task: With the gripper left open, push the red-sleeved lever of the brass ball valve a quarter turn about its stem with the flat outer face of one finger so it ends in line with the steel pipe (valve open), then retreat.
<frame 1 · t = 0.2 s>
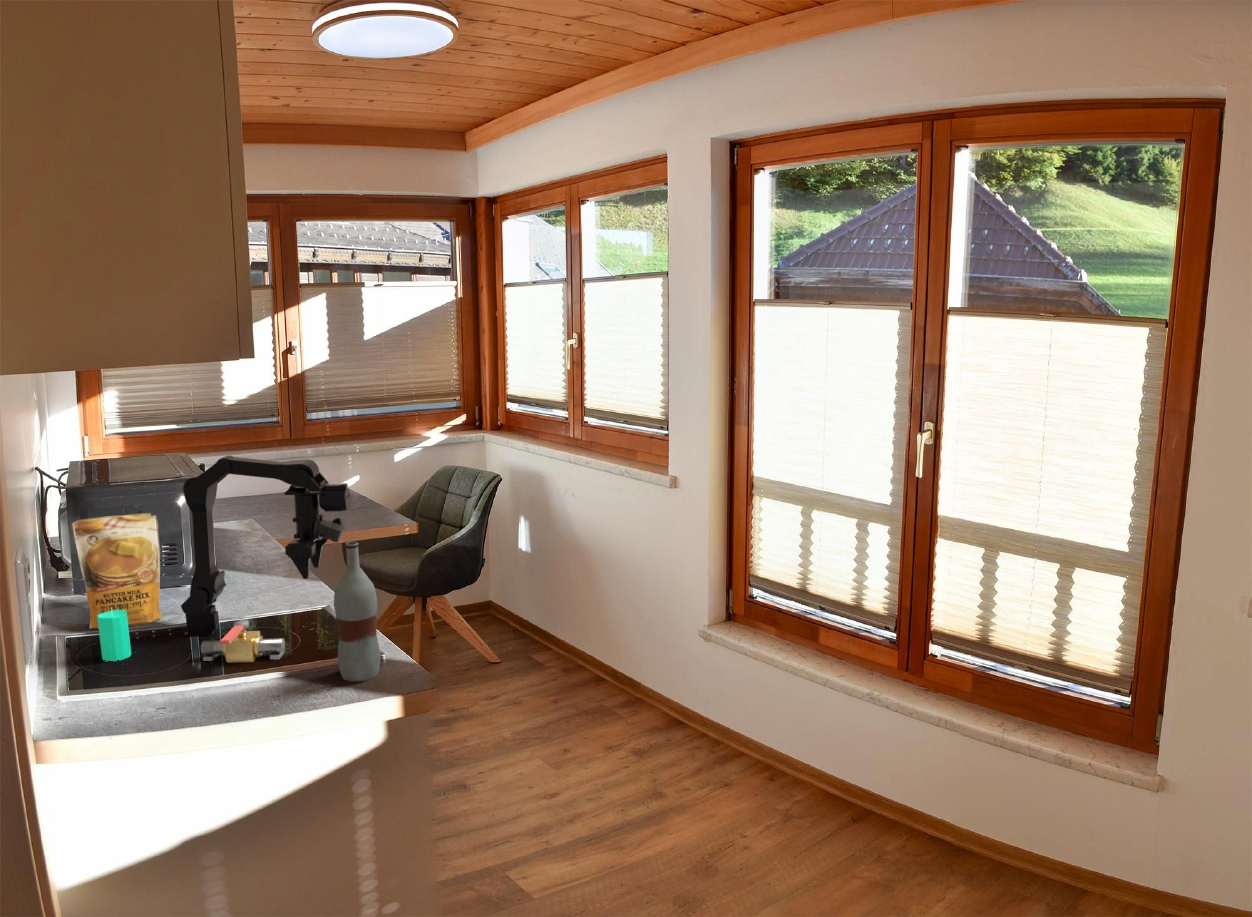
hand: (311, 572, 235), 14 cm above the counter, fingers open, 9 cm apart
vodka: (360, 674, 210), on the counter
pancake mix bag: (126, 623, 243), on the counter
lever: (234, 632, 214), point 8 cm above the counter, hinge at 0.0°
valve: (244, 657, 220), on the counter
candle: (117, 657, 221), on the counter
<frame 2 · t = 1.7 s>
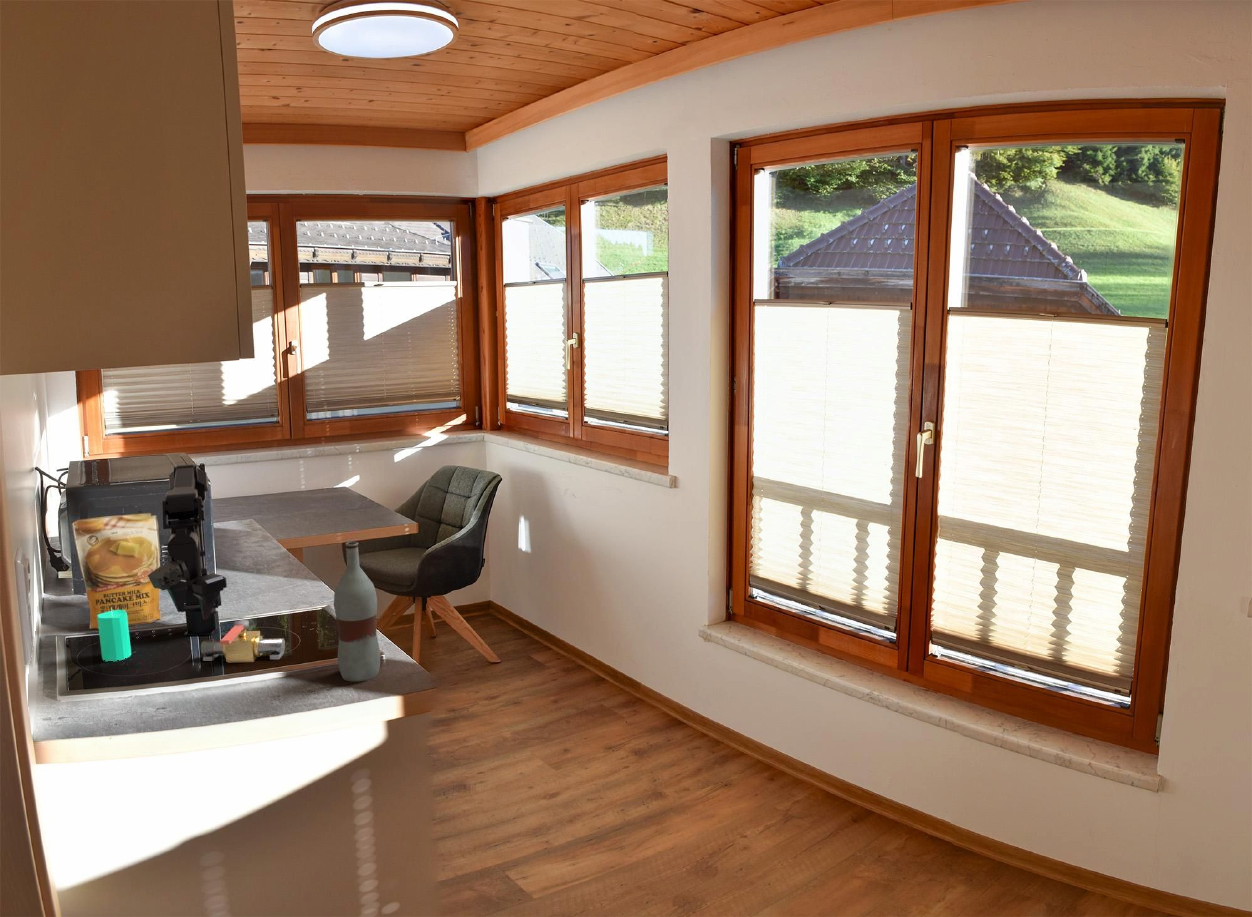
hand: (193, 615, 214), 12 cm above the counter, fingers open, 9 cm apart
nothing on the counter moved.
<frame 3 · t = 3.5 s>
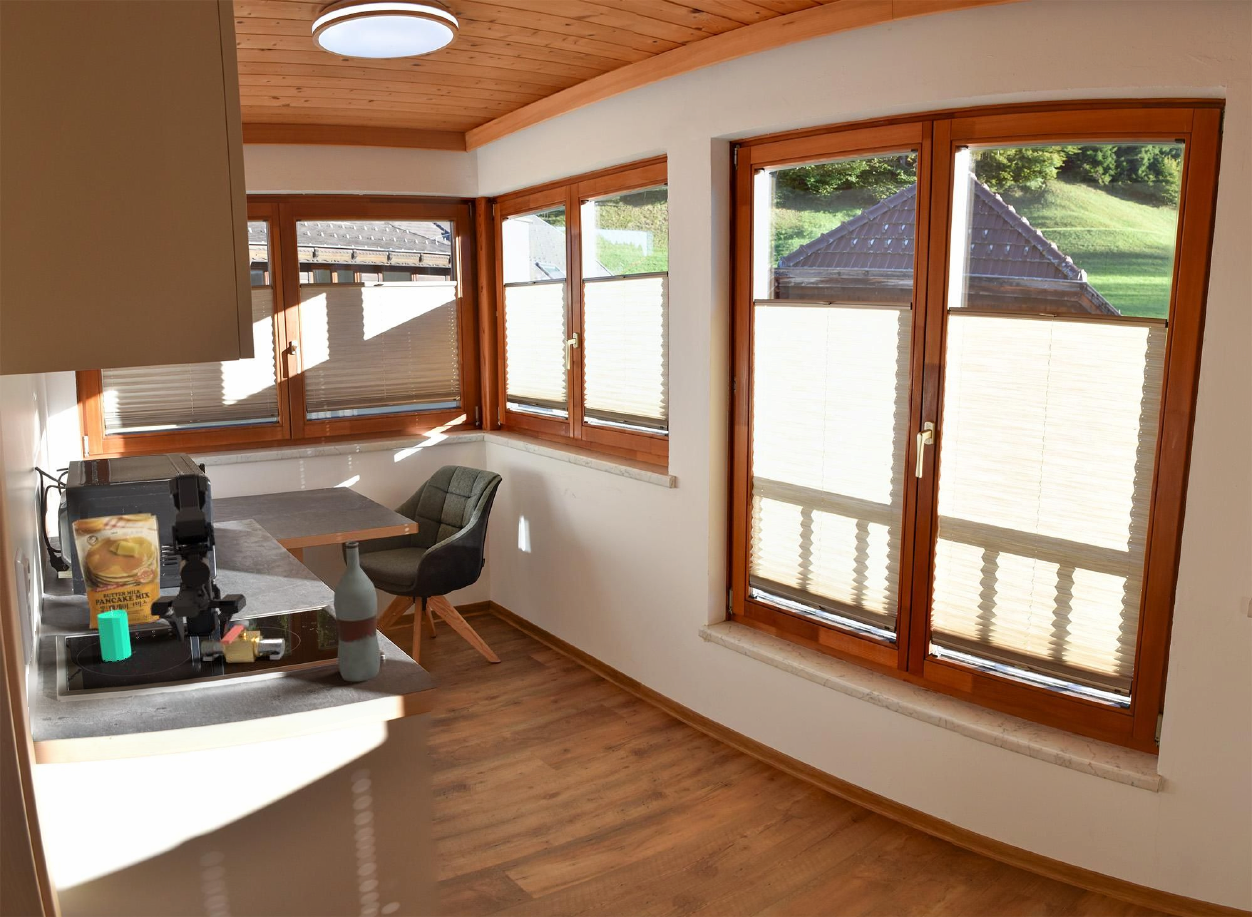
hand: (202, 641, 210), 7 cm above the counter, fingers open, 8 cm apart
lever: (234, 632, 214), point 8 cm above the counter, hinge at 0.3°, touching gripper
everything else where it was.
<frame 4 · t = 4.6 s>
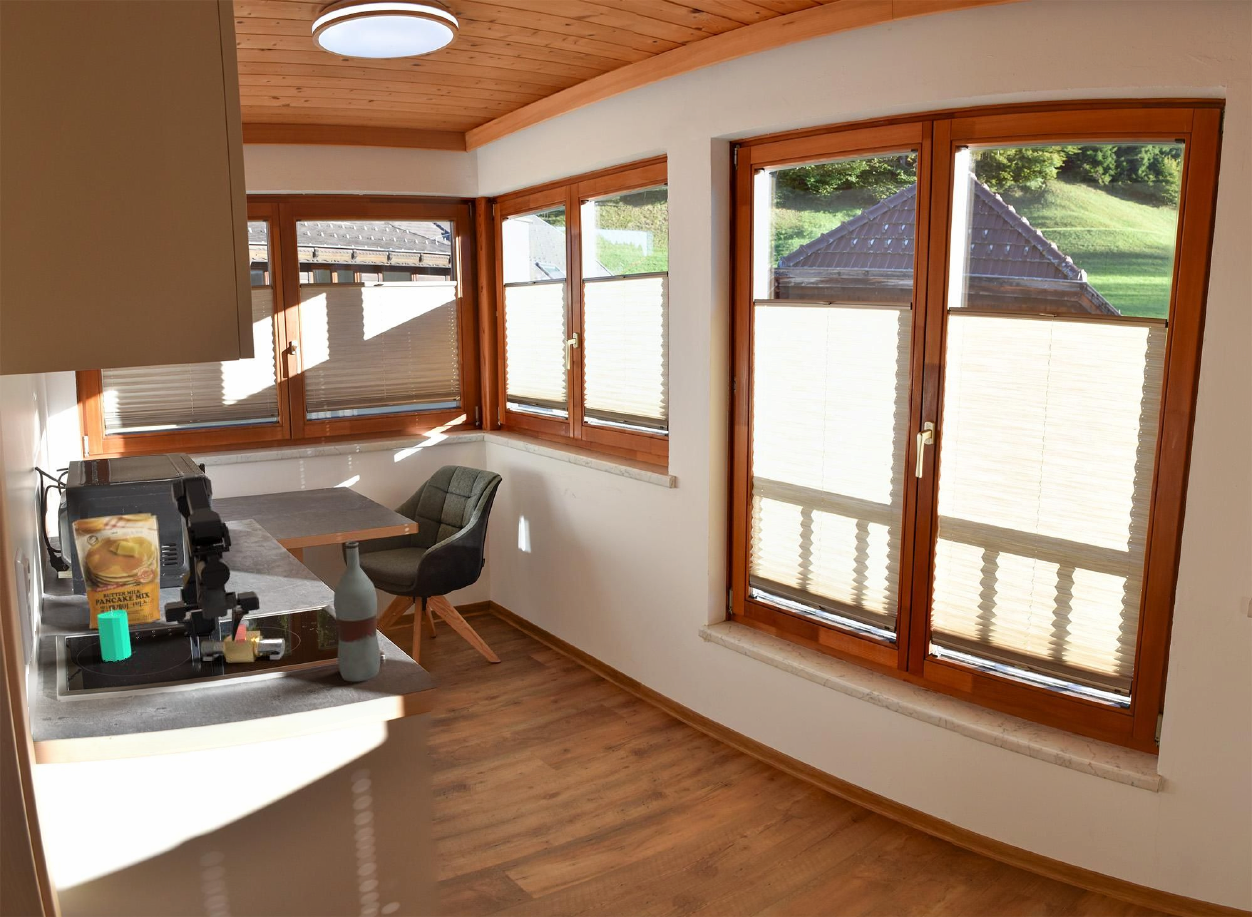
hand: (215, 643, 209), 7 cm above the counter, fingers open, 7 cm apart
lever: (241, 631, 214), point 8 cm above the counter, hinge at 17.5°, touching gripper
everything else where it was.
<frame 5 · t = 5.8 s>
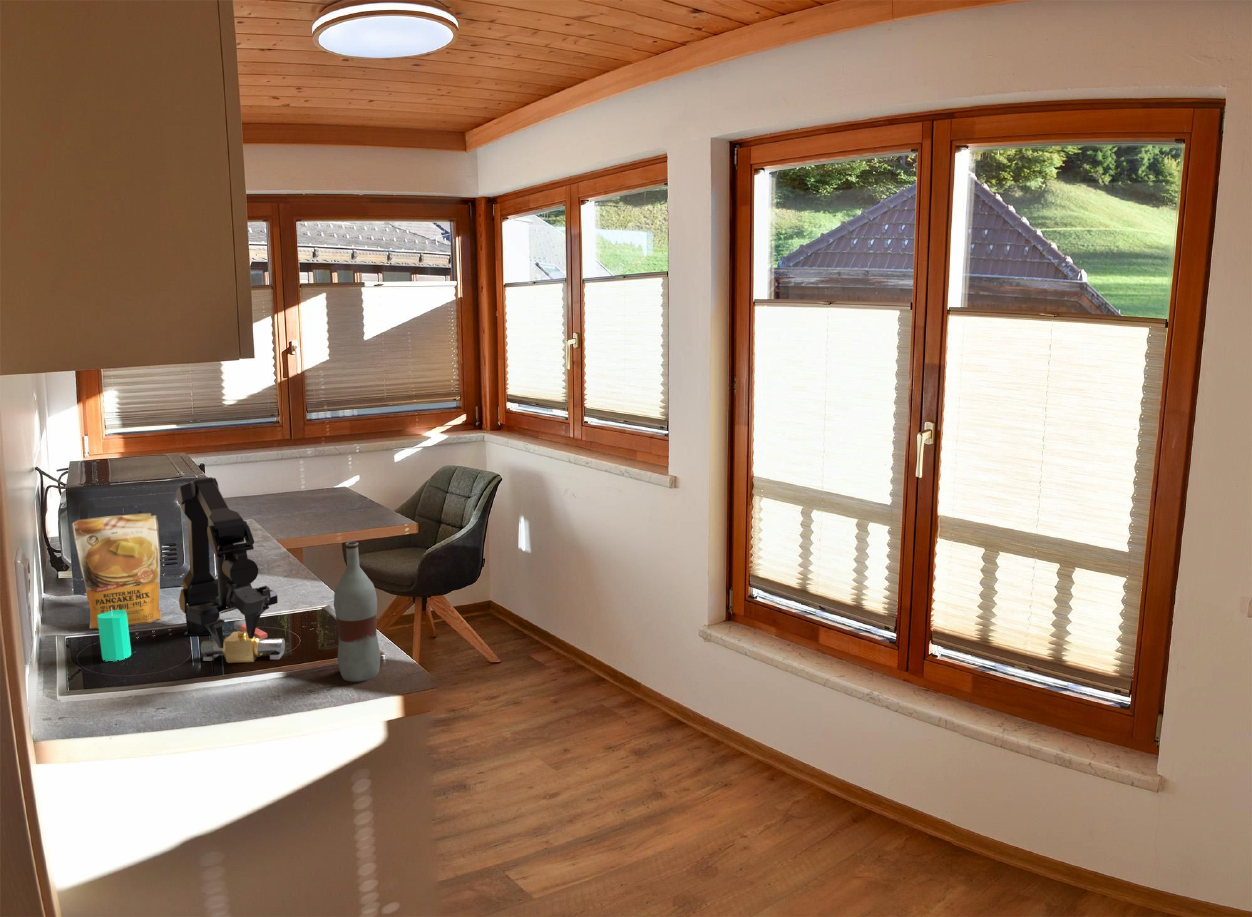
hand: (236, 643, 209), 7 cm above the counter, fingers open, 7 cm apart
lever: (250, 629, 215), point 8 cm above the counter, hinge at 43.3°, touching gripper
everything else where it was.
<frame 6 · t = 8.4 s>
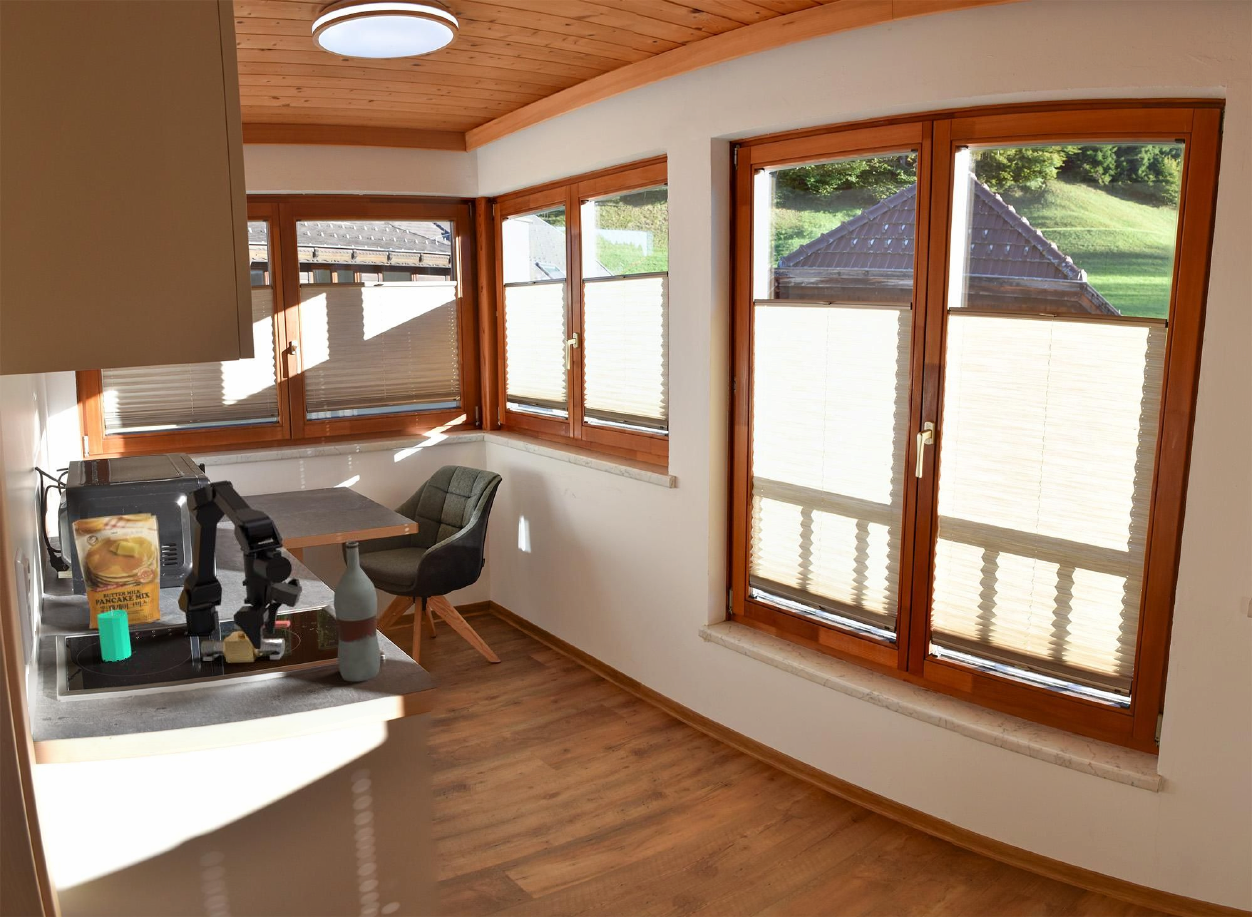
hand: (264, 641, 210), 7 cm above the counter, fingers open, 9 cm apart
lever: (261, 624, 218), point 8 cm above the counter, hinge at 88.1°
everything else where it was.
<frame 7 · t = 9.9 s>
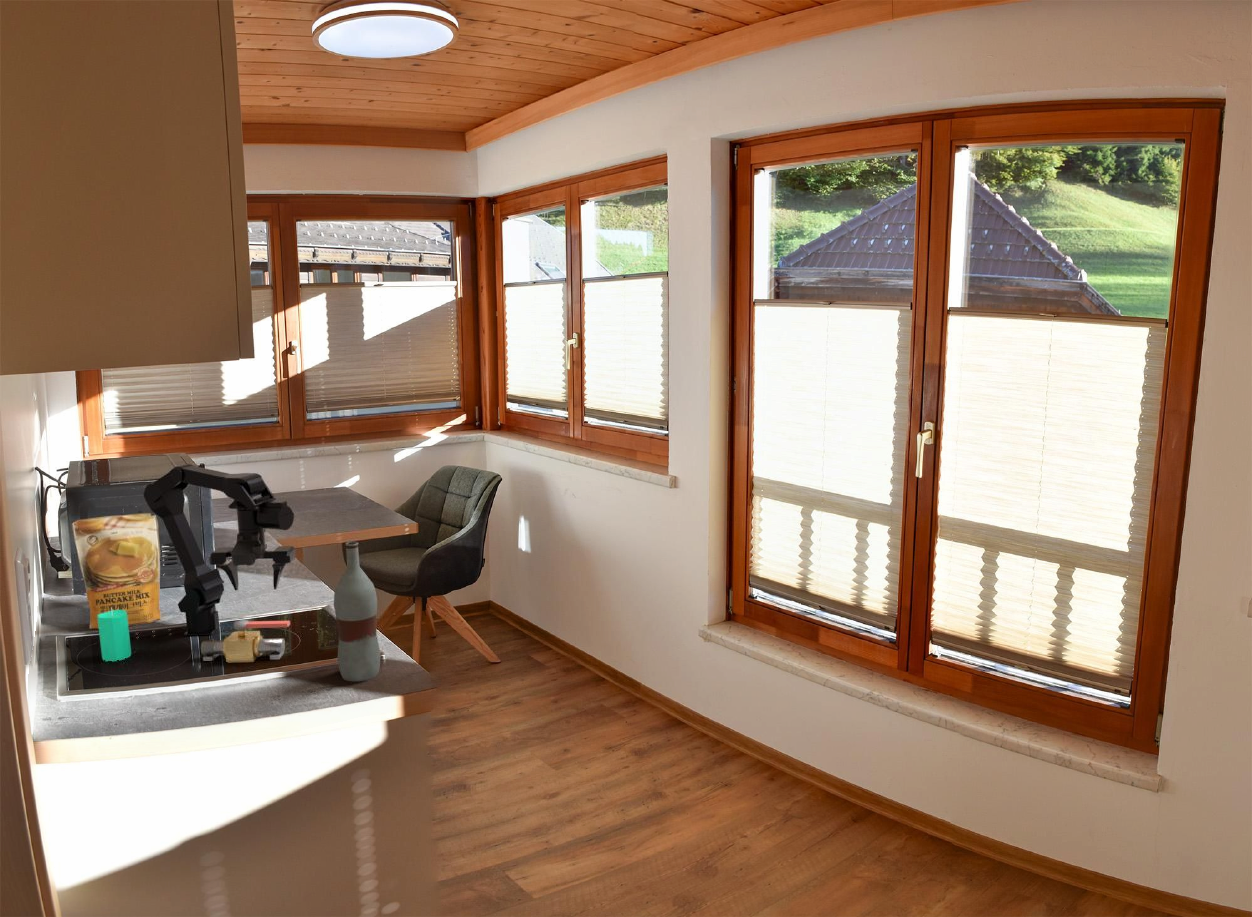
hand: (256, 589, 229), 12 cm above the counter, fingers open, 9 cm apart
nothing on the counter moved.
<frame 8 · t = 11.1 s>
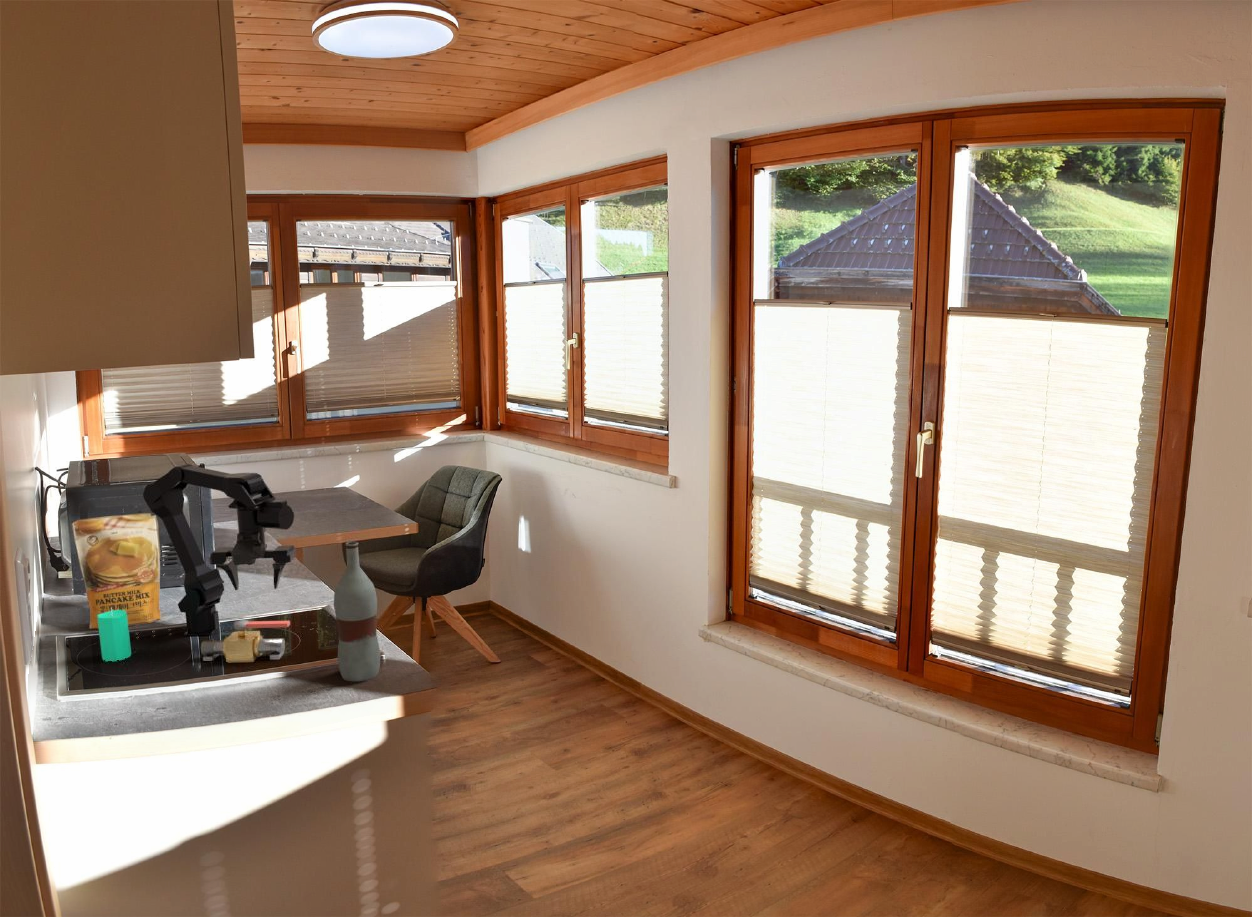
hand: (256, 589, 229), 13 cm above the counter, fingers open, 9 cm apart
nothing on the counter moved.
at the end: lever at +88° (first picture: +0°); lever touching nothing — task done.
